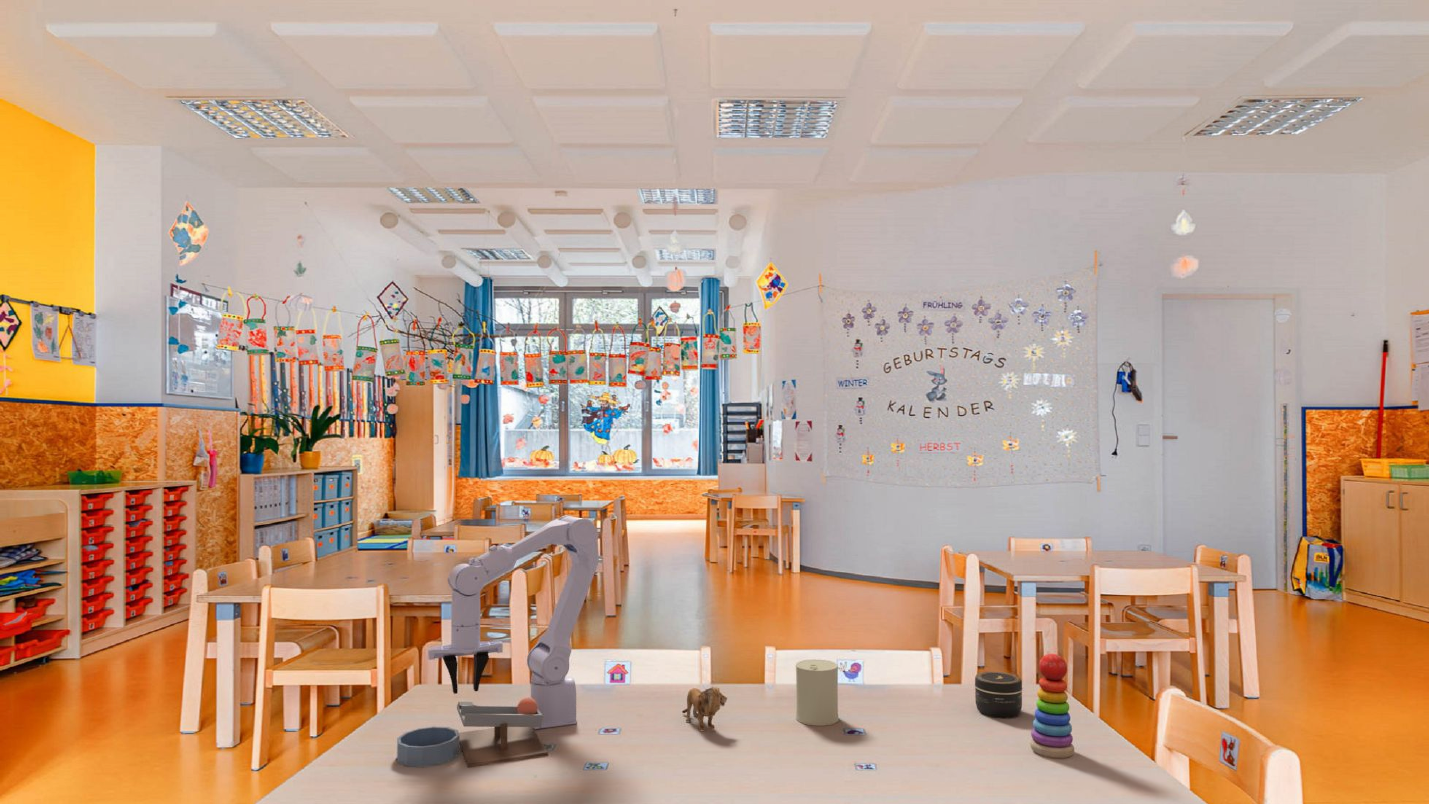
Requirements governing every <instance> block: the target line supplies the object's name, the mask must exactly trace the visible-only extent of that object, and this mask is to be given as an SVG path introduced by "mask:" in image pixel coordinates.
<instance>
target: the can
mask: <svg viewBox="0 0 1429 804" xmlns="http://www.w3.org/2000/svg"><path fill="white" fill-rule="evenodd" d="M838 668H839V665H838V663H836V662H834V661H832V660H831V661H830V660H825V659H805V660H801V661H798V662H796V664H795V675H796V676H795V677H796V680H795V681H796V708H795V709H796V712H795V720H796V721H797V722H799V723H800V724H803V725H807V726H808V725H809V726H813V727H823V726H824V727H826V726H831V725H834V724H836V723H837V722H839V720H840V719H839V707H838V706H839V705H838V704H839V702H838V701H839V699H838V695H839V694H838V690H839V688H838V683H839V682H838V679H839V677H838V675H839V673H838V670H839V669H838Z"/></svg>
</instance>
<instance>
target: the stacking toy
mask: <svg viewBox="0 0 1429 804" xmlns="http://www.w3.org/2000/svg"><path fill="white" fill-rule="evenodd" d="M1038 664H1039V668H1038V669H1039V671H1040V673H1041V675H1042V677H1041V678H1040V679H1039V681H1038V685H1039V689H1038V690H1037V691H1036V692H1037V693H1036V695H1037V696H1038V699H1036V709H1035V711H1034V717H1035V719H1034V720H1033V722H1032V727H1033V728H1032V729H1031V733H1030V736H1031V738H1032V739H1031V740H1030V743H1029V746H1030V748H1031V750H1032V751H1033V752H1034V753H1036V754H1038V755H1041V756H1043V757H1047V758H1051V759H1065V758H1069V757H1071V756H1073V754H1074V753H1075V747H1074V745H1073V739H1074V738H1073V735H1072V731H1073V728H1072V727H1073V726H1072V724H1071V723H1070V722H1071V715H1070V713H1069V712H1070V711H1069V710H1070V704H1069V702H1068V699H1069V696H1068V693H1067V692H1066V690H1067V689H1068V688H1067V687H1068V684H1067V682H1066V681H1065V679H1064V677H1065V676H1066V675H1067V672H1068V665H1067V662H1066V660H1065V659H1064V658H1063V657H1062V656H1060V655H1058V654H1056V653H1047V654H1045V655H1044V656H1042V657H1041V658H1040V660H1039V663H1038Z"/></svg>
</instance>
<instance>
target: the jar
mask: <svg viewBox="0 0 1429 804" xmlns="http://www.w3.org/2000/svg"><path fill="white" fill-rule="evenodd" d="M1023 690H1024V689H1023V681H1022V679H1021V677H1020V676H1017V675H1015V674H1012V673H1008V672H1003V671H983V672H978V673H977V674H975V677H974V691H975V693H974V694H975V704H976V705H975V706H976V708H977V710H978V712H979V713H980V714H982V715H984V716H987V717H990V718H995V719H996V718H997V719H1012V718H1016V717H1019V715H1020V714H1021V712H1022V708H1023Z"/></svg>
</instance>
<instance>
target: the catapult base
mask: <svg viewBox="0 0 1429 804" xmlns="http://www.w3.org/2000/svg"><path fill="white" fill-rule="evenodd" d="M458 733H459V749H460V750H461V753H462V755H463V760H464V761H465V764H466V767H467V768H472V767H479V766H486V765H491V764H493V765H494V764H498V763H505V762H506V763H507V762H511V761H512V762H513V761H517V760H527V759H531V758H532V759H533V758H539V757H545V756H549V751H548V750H547V748H546V746H545V745H544V743H543V742H542V740H541V738H540V737H539V735H538V734H537V732H536V731H535V729H533V727H507V723H505V724H501V727H491V728H490V727H489V728H485V729H484V728H483V729H477V730H476V729H475V730H469V731H468V730H467V731H463V732H461V731H460V732H458Z"/></svg>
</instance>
